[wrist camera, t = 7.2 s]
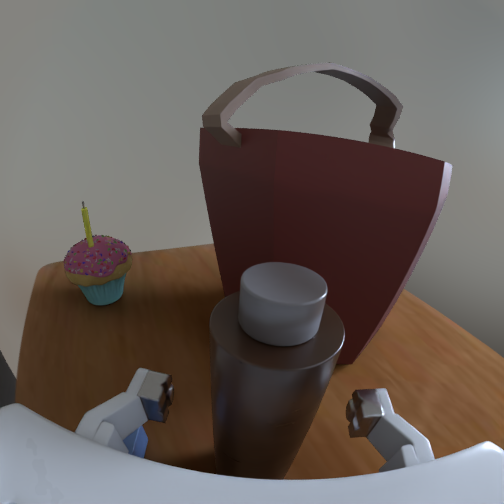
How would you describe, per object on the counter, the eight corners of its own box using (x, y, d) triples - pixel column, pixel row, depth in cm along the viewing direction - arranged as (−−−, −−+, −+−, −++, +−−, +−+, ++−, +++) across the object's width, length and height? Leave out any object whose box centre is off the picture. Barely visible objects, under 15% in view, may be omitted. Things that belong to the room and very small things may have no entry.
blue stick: (124, 562, 6) (110, 560, 5) (86, 548, 6) (67, 543, 5) (148, 439, 15) (141, 421, 14) (116, 431, 15) (107, 414, 14)
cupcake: (134, 313, 28) (119, 203, 23) (65, 316, 25) (39, 211, 20) (138, 274, 35) (130, 184, 30) (80, 278, 33) (65, 191, 28)
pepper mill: (237, 507, 11) (262, 349, 5) (204, 455, 14) (187, 262, 9) (298, 476, 13) (385, 296, 8) (261, 432, 17) (295, 244, 11)
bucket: (340, 260, 44) (363, 100, 33) (444, 343, 25) (507, 117, 15) (183, 280, 35) (184, 72, 25) (237, 433, 17) (267, -26, 6)
